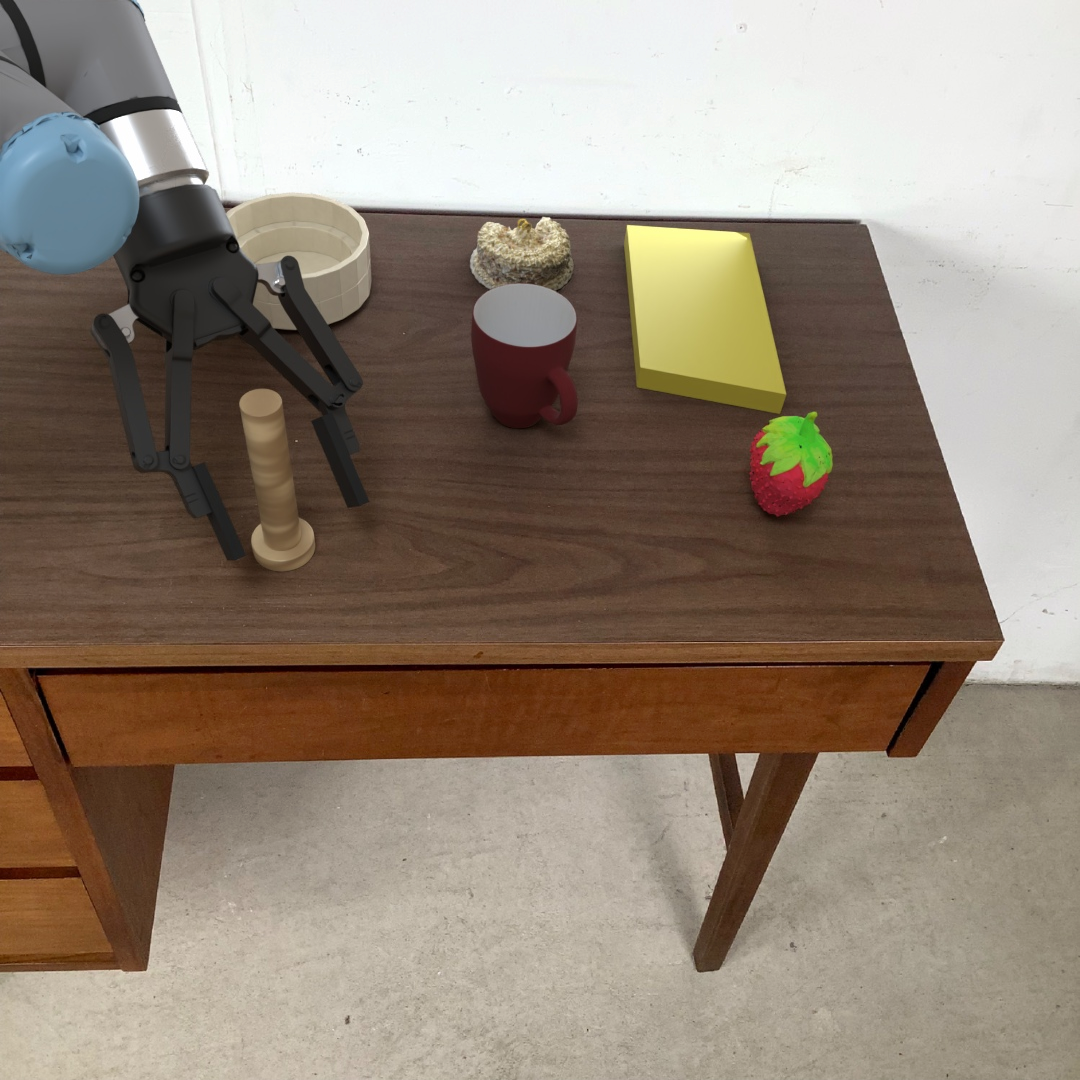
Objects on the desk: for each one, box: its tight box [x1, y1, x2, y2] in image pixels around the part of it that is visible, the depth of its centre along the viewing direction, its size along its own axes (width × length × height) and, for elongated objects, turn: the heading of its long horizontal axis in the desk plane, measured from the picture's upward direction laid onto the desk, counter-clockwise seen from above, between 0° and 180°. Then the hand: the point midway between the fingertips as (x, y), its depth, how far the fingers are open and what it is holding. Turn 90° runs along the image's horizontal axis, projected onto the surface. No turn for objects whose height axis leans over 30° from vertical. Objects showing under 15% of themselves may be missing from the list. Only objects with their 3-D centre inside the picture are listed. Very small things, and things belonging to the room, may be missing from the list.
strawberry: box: [749, 411, 834, 517], centre depth 80 cm, size 6×7×10 cm
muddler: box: [238, 388, 316, 572], centre depth 72 cm, size 4×4×14 cm
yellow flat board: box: [623, 224, 787, 415], centre depth 97 cm, size 12×2×24 cm
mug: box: [470, 283, 579, 429], centre depth 84 cm, size 11×8×10 cm
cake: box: [469, 216, 575, 292], centre depth 100 cm, size 10×10×5 cm
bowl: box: [226, 192, 373, 331], centre depth 95 cm, size 13×13×6 cm
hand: (299, 530), depth 71 cm, fingers open, 8 cm apart
